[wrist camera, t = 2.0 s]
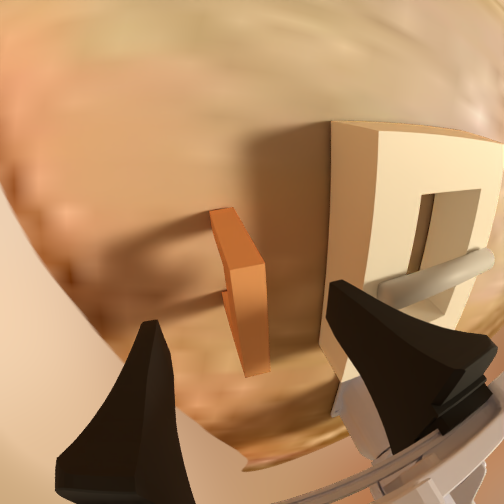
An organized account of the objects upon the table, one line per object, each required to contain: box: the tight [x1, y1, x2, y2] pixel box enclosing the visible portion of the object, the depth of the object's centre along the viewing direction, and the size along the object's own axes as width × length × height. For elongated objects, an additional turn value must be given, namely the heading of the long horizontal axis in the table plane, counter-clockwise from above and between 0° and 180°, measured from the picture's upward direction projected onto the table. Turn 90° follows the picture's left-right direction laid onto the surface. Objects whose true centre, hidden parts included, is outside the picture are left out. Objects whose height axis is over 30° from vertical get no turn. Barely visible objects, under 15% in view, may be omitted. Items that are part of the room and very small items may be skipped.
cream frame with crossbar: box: [319, 121, 504, 383], centre depth 16 cm, size 16×12×6 cm
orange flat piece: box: [209, 207, 271, 378], centre depth 13 cm, size 6×1×6 cm, turn 4°
